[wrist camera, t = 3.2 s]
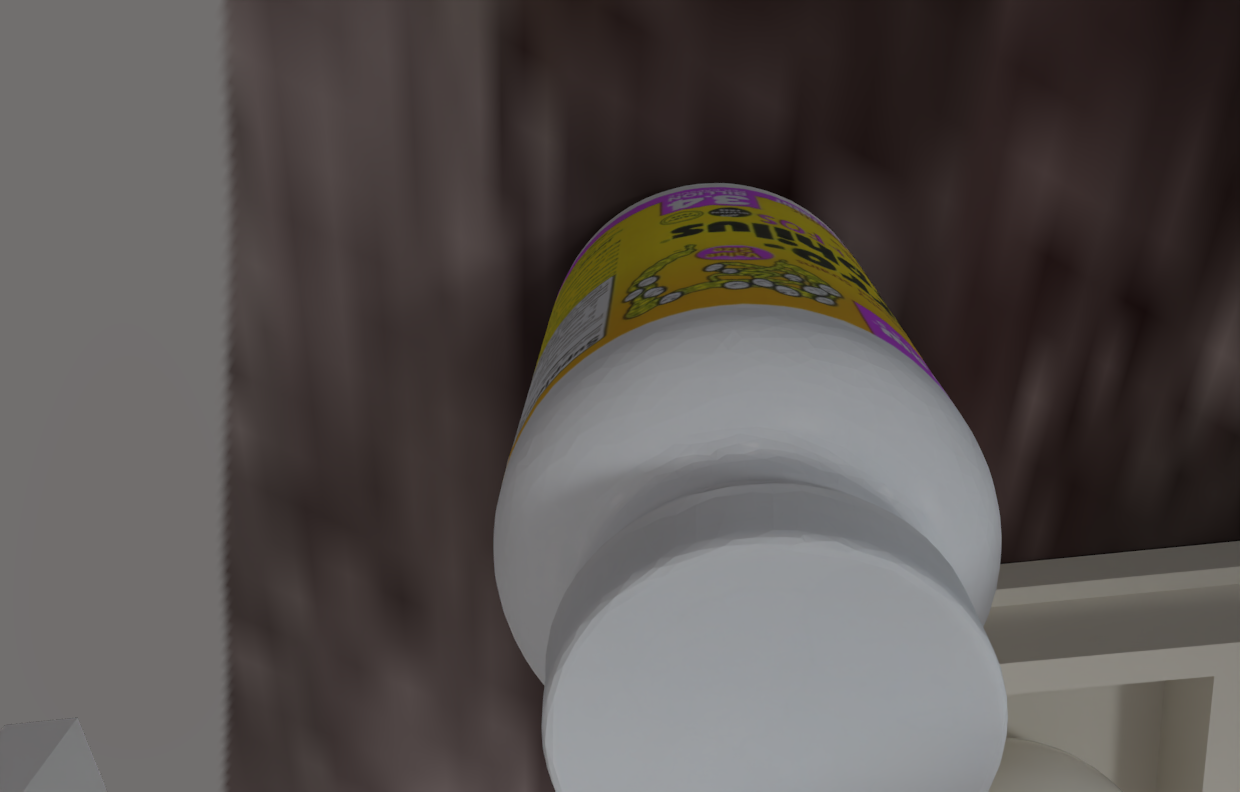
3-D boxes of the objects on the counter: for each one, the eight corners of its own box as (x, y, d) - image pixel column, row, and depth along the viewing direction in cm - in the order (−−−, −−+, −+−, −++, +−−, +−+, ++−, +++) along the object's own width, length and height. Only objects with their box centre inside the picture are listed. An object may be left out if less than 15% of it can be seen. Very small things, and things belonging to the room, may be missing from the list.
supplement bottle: (931, 284, 22) (1272, 669, 10) (749, 520, 24) (848, 1066, 12) (661, 108, 21) (679, 306, 9) (494, 373, 23) (330, 821, 11)
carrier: (770, 928, 29) (783, 1031, 26) (735, 589, 25) (746, 669, 22) (1535, 871, 27) (1635, 973, 25) (1634, 502, 23) (1768, 575, 20)
